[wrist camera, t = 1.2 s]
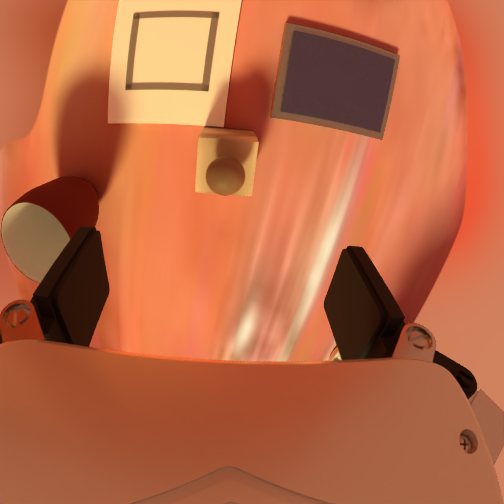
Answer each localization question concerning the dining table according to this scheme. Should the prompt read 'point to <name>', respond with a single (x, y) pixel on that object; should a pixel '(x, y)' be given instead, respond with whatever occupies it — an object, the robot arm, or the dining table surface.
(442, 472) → the robot arm
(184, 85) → the card
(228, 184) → the stamp
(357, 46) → the ink pad
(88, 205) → the mug
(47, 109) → the dining table surface
